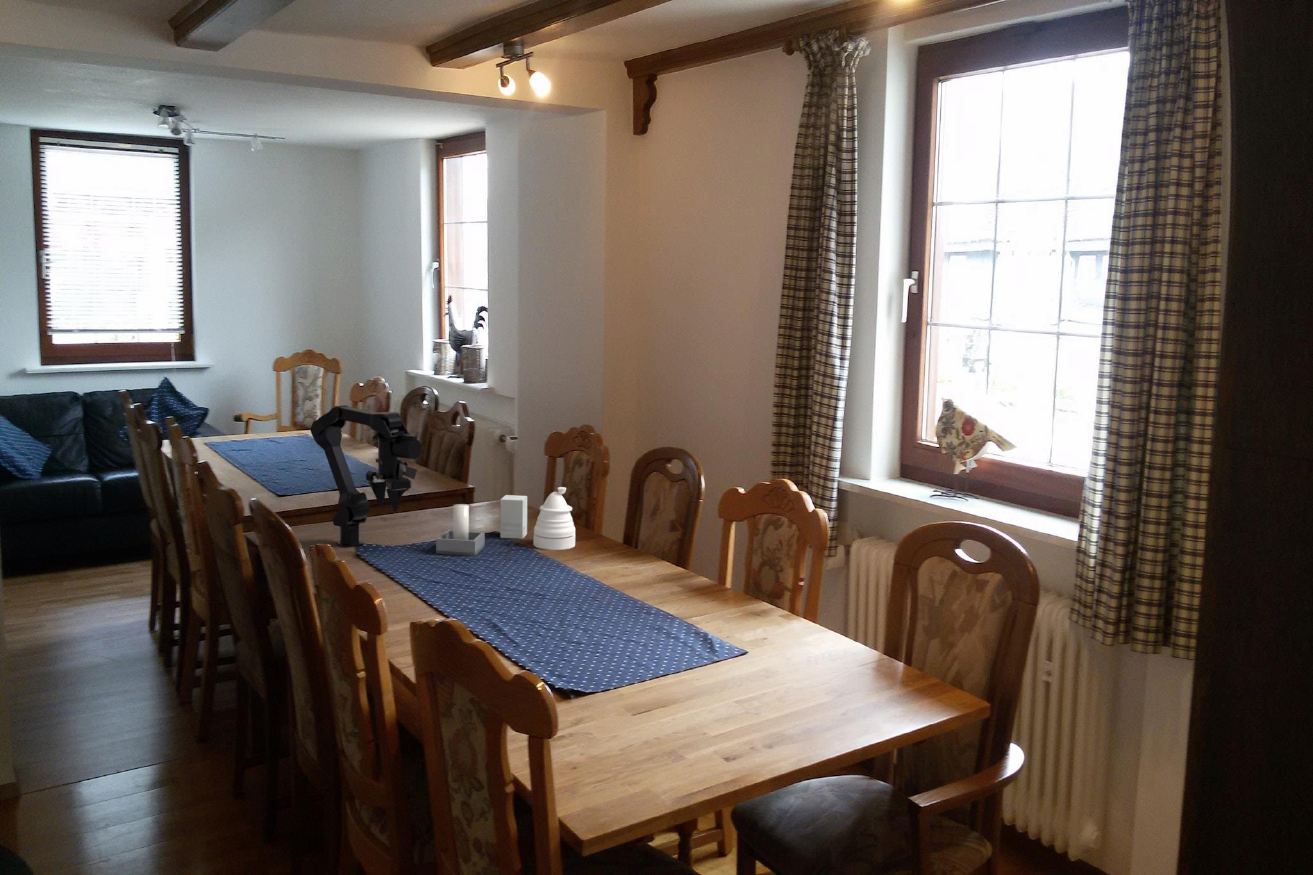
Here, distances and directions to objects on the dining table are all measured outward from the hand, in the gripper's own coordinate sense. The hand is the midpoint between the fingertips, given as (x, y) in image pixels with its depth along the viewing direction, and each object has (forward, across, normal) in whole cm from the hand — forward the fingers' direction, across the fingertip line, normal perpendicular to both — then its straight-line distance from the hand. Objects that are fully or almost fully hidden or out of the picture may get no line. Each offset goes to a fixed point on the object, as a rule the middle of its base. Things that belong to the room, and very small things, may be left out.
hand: (388, 508), depth 308 cm
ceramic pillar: (+12, -9, -19) cm, 24 cm away
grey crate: (+13, -9, -19) cm, 25 cm away
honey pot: (+13, -17, -47) cm, 52 cm away
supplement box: (+13, -1, -42) cm, 44 cm away
